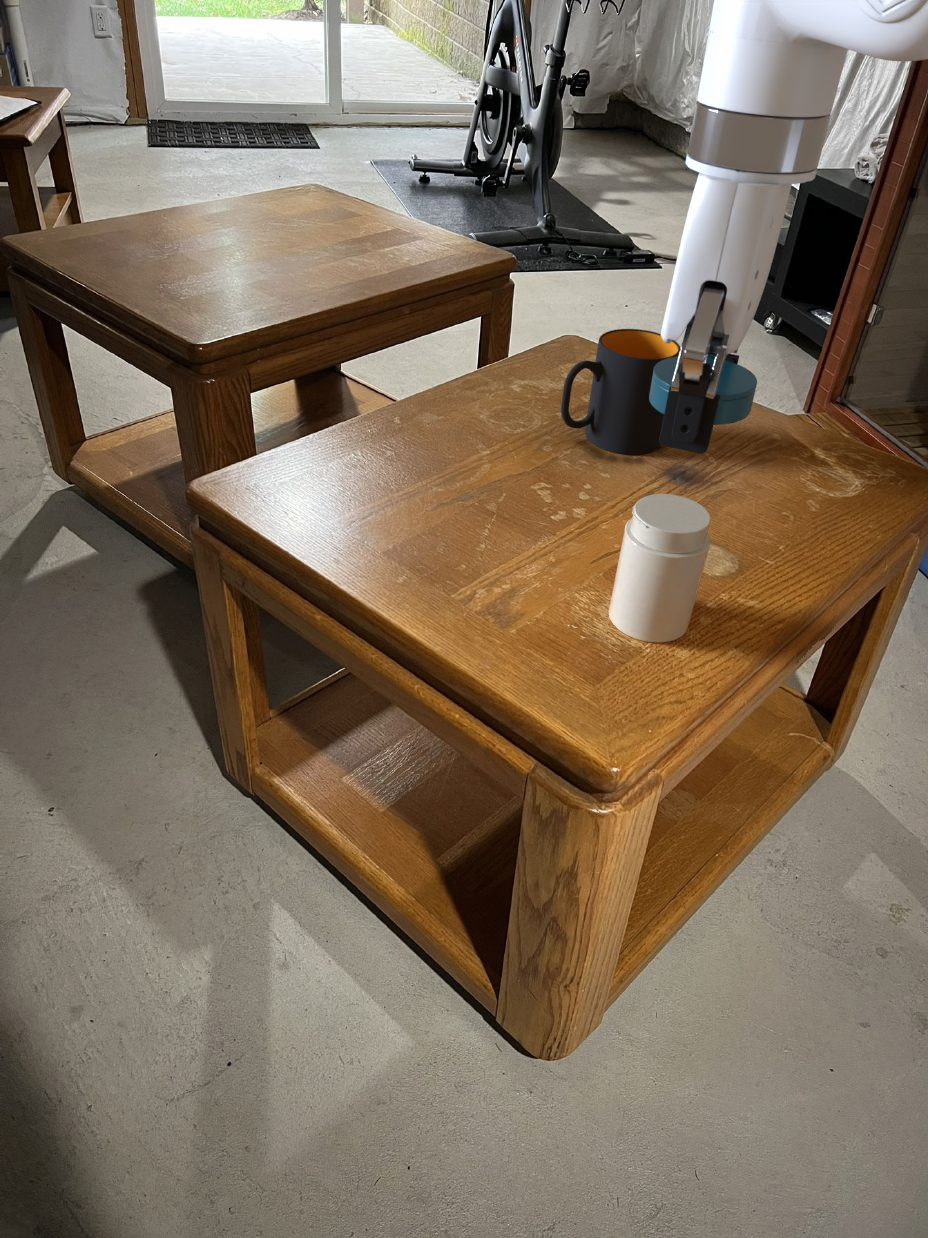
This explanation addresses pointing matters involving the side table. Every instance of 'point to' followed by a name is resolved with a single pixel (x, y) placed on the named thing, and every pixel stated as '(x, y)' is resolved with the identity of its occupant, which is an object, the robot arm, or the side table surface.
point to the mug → (622, 391)
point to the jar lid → (732, 389)
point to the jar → (660, 568)
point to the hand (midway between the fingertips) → (694, 423)
